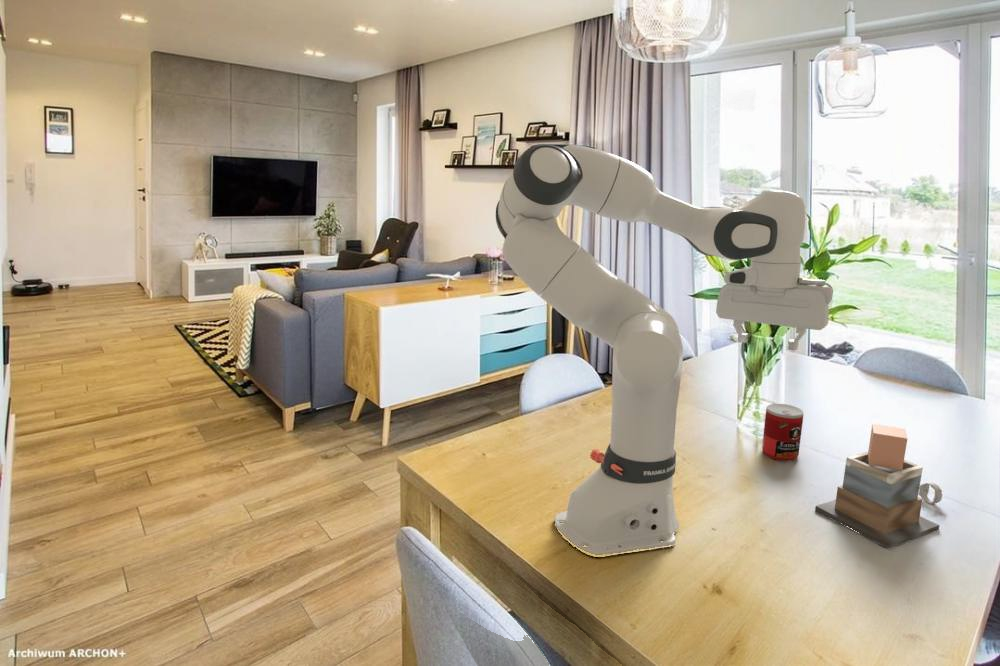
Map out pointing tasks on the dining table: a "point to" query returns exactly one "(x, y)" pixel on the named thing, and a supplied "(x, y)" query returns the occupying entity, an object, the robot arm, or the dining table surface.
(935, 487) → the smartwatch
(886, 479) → the stacked open-top box
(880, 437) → the light orange block
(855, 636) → the dining table surface
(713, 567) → the dining table surface
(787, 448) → the canned food
